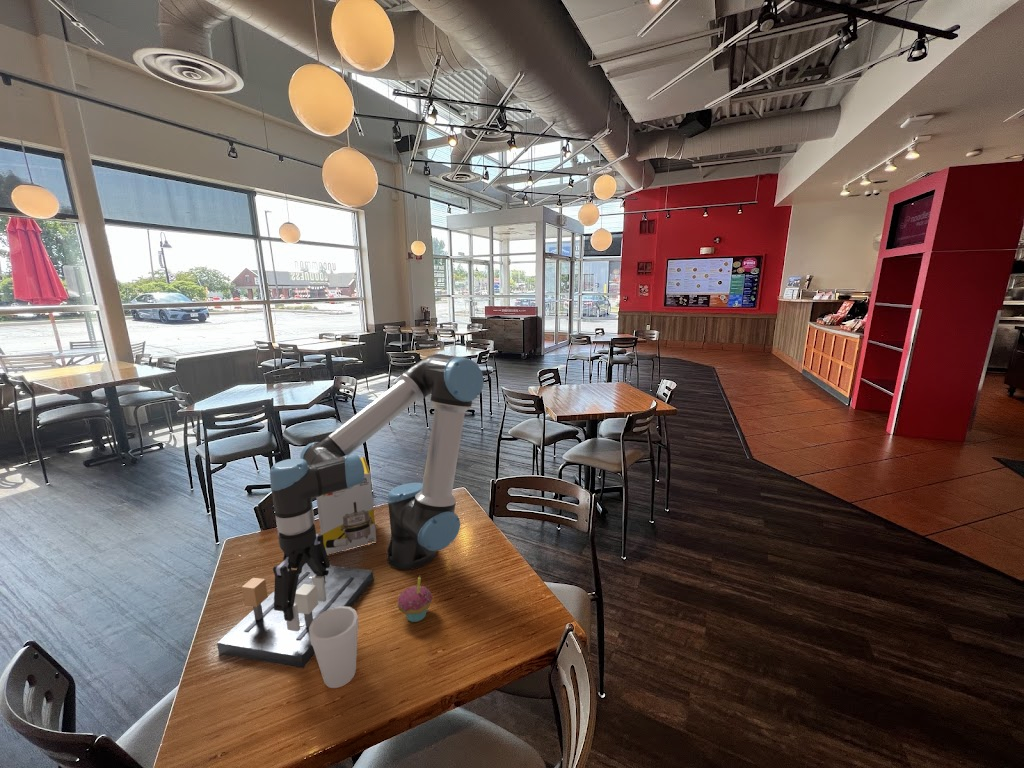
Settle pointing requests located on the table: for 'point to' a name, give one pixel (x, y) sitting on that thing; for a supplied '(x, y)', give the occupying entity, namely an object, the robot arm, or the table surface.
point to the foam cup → (335, 644)
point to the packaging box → (348, 516)
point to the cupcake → (415, 602)
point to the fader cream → (306, 601)
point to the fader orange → (255, 595)
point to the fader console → (271, 632)
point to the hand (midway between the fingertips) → (308, 614)
